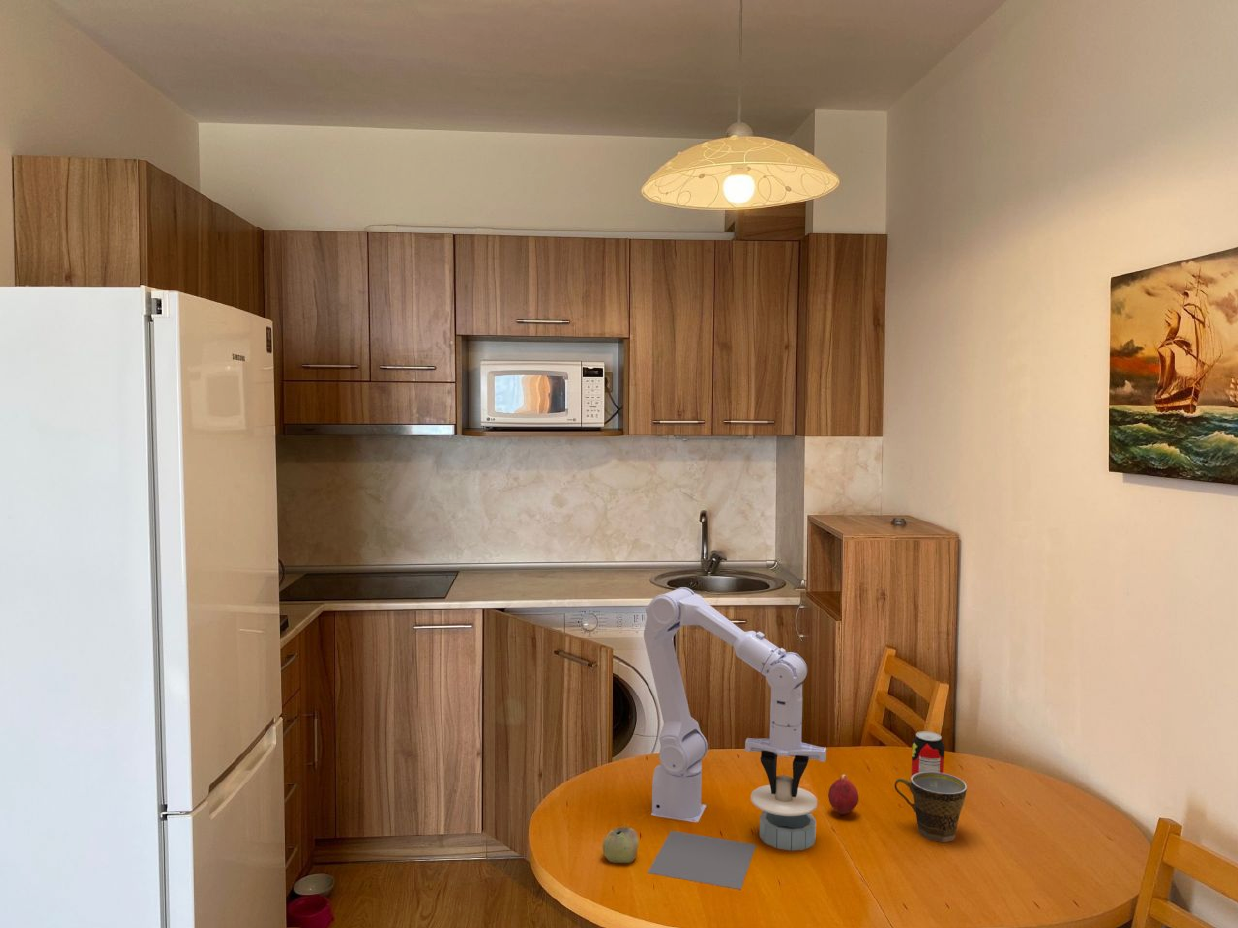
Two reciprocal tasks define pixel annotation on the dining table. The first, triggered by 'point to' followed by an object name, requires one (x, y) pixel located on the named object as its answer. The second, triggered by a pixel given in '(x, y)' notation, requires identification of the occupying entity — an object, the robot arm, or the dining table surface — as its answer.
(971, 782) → the dining table surface
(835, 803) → the onion
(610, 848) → the apple
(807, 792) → the lid
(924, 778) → the ceramic cup
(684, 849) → the mat
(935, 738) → the beverage can
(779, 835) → the bowl
